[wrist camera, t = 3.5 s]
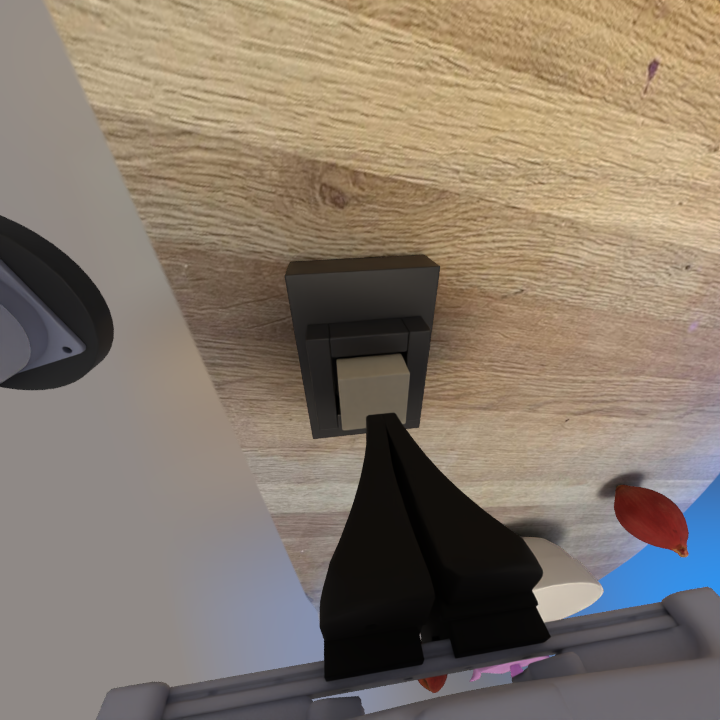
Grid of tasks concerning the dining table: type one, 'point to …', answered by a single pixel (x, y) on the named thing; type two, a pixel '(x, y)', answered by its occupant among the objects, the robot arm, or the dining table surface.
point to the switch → (372, 388)
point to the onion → (651, 518)
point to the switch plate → (360, 325)
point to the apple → (433, 682)
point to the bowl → (561, 582)
